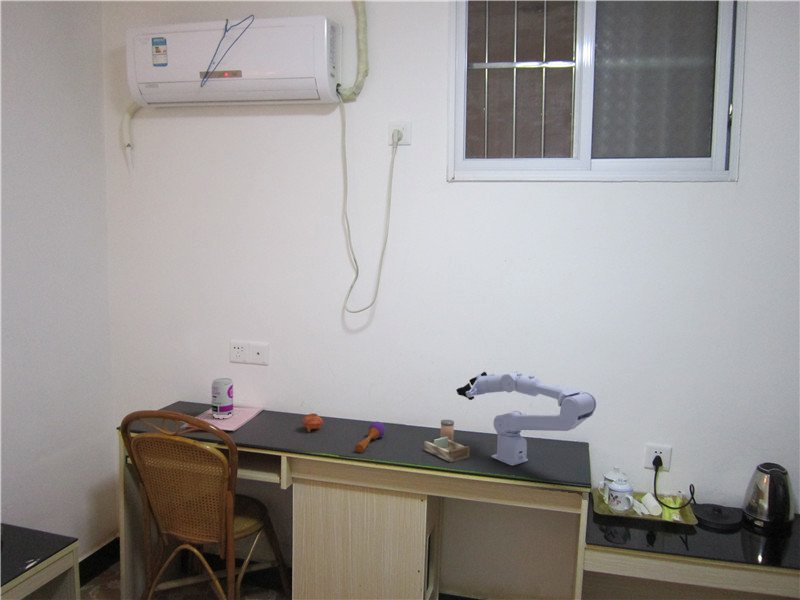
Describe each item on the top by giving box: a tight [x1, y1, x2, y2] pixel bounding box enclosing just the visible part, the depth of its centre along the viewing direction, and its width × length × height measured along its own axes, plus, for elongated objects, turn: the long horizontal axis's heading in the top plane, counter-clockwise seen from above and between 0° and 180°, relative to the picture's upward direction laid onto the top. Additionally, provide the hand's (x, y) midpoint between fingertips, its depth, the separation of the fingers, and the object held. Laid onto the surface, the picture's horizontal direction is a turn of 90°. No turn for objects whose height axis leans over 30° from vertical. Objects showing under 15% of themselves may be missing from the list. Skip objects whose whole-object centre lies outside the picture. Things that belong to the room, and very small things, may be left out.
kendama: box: [354, 421, 386, 453], centre depth 207 cm, size 6×6×20 cm
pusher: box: [433, 437, 448, 448], centre depth 201 cm, size 1×6×3 cm, turn 127°
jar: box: [440, 419, 455, 442], centre depth 212 cm, size 5×5×7 cm
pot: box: [301, 412, 324, 433], centre depth 220 cm, size 8×8×7 cm
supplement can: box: [211, 377, 234, 415], centre depth 233 cm, size 8×8×15 cm
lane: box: [423, 436, 471, 463], centre depth 199 cm, size 14×8×4 cm, turn 37°
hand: (464, 387), depth 210 cm, fingers open, 7 cm apart
